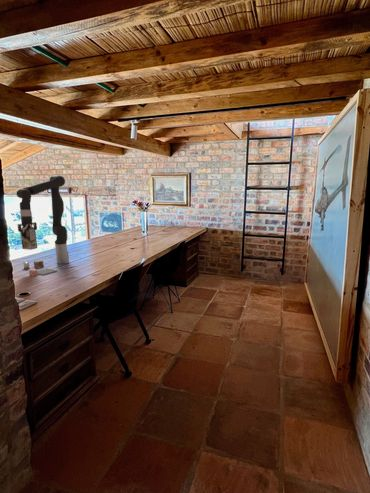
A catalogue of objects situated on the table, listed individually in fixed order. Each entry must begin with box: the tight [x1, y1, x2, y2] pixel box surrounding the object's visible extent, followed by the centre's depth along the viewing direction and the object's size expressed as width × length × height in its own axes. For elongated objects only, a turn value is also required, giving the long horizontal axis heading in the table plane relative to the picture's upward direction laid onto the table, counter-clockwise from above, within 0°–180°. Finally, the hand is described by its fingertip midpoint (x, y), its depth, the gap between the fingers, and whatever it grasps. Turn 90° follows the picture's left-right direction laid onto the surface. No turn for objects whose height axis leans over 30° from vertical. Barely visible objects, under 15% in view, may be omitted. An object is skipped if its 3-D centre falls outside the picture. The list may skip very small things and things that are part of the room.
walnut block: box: [33, 259, 44, 269], centre depth 234 cm, size 5×5×5 cm
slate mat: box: [37, 268, 58, 276], centre depth 219 cm, size 12×12×1 cm
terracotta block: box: [28, 268, 39, 277], centre depth 212 cm, size 4×4×4 cm
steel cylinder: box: [23, 261, 30, 270], centre depth 229 cm, size 4×4×5 cm
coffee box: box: [19, 227, 38, 251], centre depth 219 cm, size 9×6×16 cm
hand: (28, 236), depth 219 cm, fingers closed on coffee box, 7 cm apart
